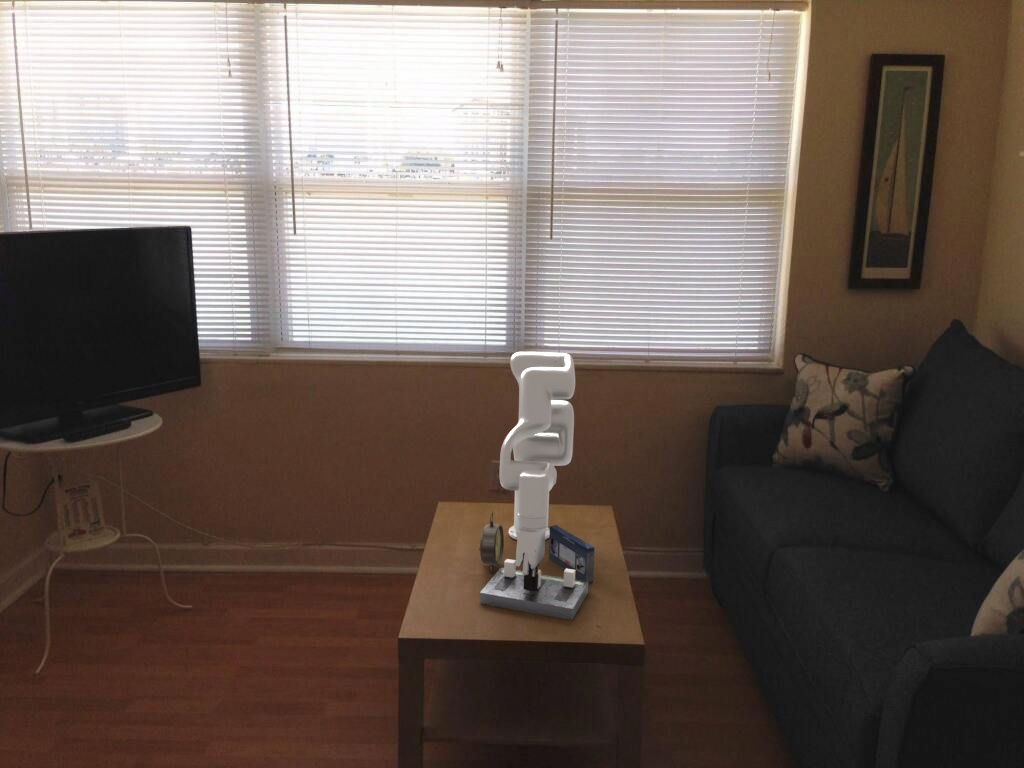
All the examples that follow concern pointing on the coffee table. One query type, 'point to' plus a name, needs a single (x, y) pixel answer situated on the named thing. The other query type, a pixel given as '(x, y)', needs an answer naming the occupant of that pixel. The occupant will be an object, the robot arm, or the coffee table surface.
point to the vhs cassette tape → (571, 553)
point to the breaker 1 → (509, 568)
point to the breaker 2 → (569, 578)
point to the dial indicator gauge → (491, 544)
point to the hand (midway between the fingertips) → (530, 589)
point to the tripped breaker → (539, 578)
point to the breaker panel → (535, 595)
